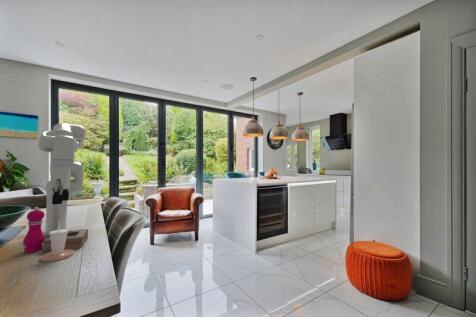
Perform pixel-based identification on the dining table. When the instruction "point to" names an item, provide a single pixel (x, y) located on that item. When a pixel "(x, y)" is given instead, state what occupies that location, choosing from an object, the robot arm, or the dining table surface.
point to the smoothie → (58, 240)
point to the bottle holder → (70, 240)
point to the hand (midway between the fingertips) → (60, 202)
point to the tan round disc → (56, 256)
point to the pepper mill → (34, 232)
